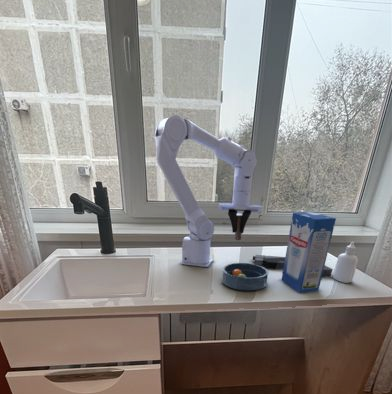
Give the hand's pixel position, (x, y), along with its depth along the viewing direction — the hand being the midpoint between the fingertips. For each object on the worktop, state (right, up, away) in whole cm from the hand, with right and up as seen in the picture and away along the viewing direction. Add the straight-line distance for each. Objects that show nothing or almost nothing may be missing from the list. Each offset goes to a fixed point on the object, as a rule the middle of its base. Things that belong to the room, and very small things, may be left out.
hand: (238, 232), depth 102 cm
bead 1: (-3, -17, -15) cm, 23 cm away
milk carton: (+16, -21, -17) cm, 31 cm away
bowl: (-1, -20, -16) cm, 26 cm away
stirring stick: (0, -2, +3) cm, 3 cm away
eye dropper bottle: (+31, -19, -12) cm, 38 cm away
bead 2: (-2, -19, -19) cm, 27 cm away
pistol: (+17, -14, -3) cm, 22 cm away
